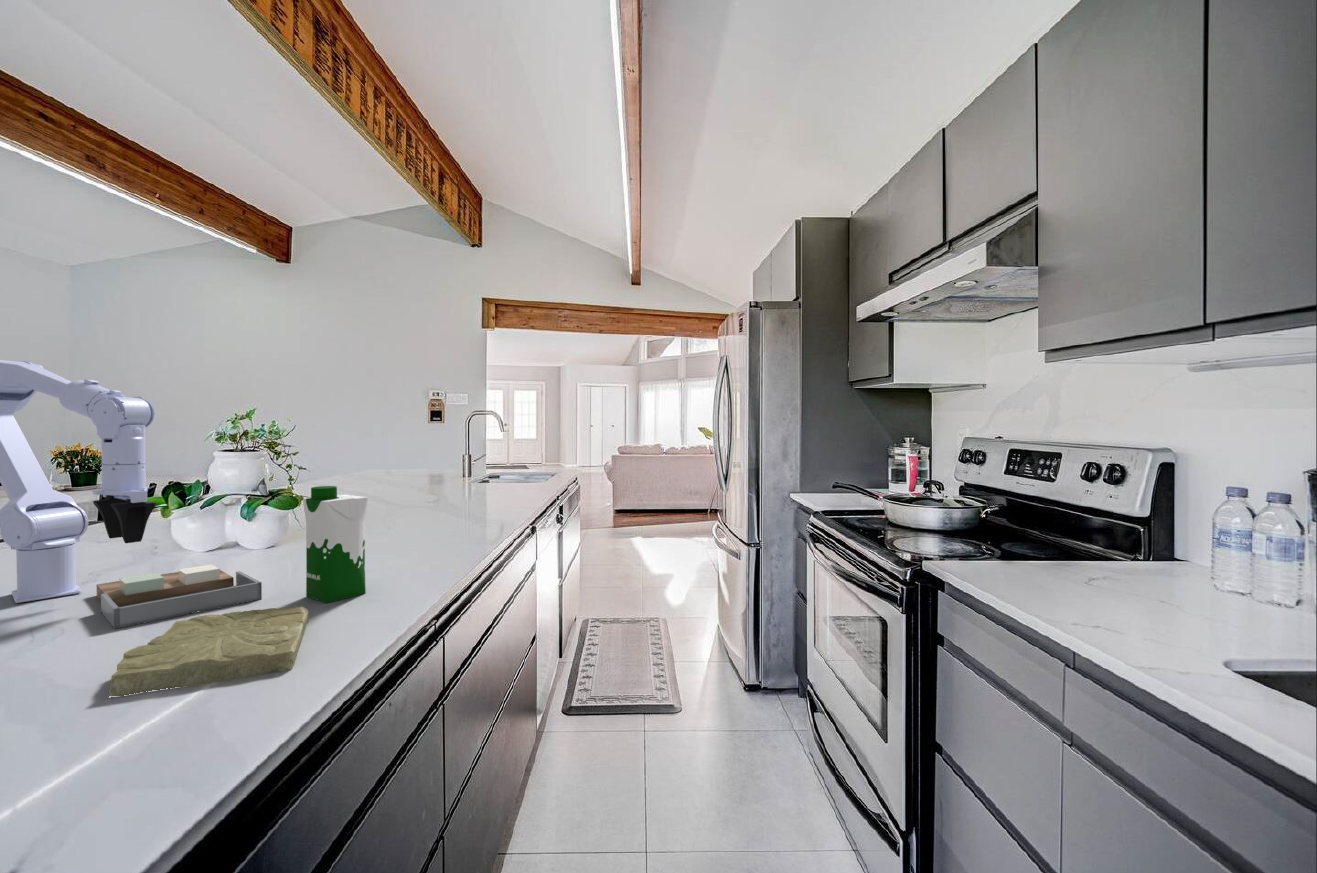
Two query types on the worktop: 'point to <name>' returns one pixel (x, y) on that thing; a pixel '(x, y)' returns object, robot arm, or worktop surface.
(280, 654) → the decorative tile
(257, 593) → the box
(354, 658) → the worktop surface
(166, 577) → the walnut plate
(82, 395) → the robot arm
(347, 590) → the milk carton
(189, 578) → the cream tile
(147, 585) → the sage tile
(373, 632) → the worktop surface
